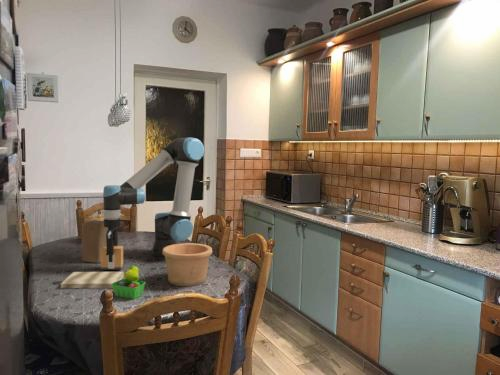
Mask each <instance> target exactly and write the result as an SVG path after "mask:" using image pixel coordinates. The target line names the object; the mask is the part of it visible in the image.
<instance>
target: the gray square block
mask: <svg viewBox="0 0 500 375" xmlns="http://www.w3.org/2000/svg"><path fill="white" fill-rule="evenodd" d="M66 278H67V277H64V278H63V277H58V278H57V279H56V280H54V285H61V283H62V282H63V281H64V280H65V279H66Z"/></svg>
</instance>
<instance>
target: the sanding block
mask: <svg viewBox="0 0 500 375" xmlns="http://www.w3.org/2000/svg"><path fill="white" fill-rule="evenodd" d="M106 253H107V246H103V247H102V248H101V262H100V269H101V270H109V269H108V255H106ZM113 255H114V269H113V270H122V268H123V267H124V246H123V245H118V246H114V254H113Z"/></svg>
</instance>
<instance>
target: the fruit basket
mask: <svg viewBox="0 0 500 375" xmlns="http://www.w3.org/2000/svg"><path fill="white" fill-rule="evenodd" d="M139 271H140V270H139V268H138V267H137V265H133V264H132V265H131V266H130V267H129V268H128V270H127V271H126V272H124V277H125V278H122V279H121V280H119V281H116V282H114V283H112V286H113V288H112V289H113V292H114V295H115V296H116V297H120V298H125V299H132V300H134V299H137V298H139V297H140V296H142V295H143V292H144V288H145V285H146V283H147V282H146V281H142V280H139V276H140V274H139Z"/></svg>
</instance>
